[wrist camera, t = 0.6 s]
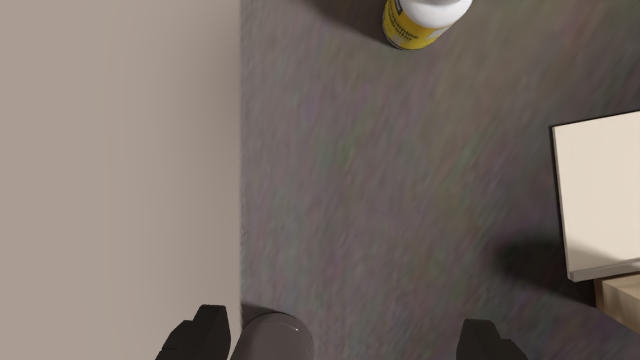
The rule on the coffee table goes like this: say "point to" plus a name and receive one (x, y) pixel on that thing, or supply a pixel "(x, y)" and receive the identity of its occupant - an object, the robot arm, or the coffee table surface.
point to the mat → (600, 195)
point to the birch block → (620, 298)
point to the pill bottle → (419, 20)
